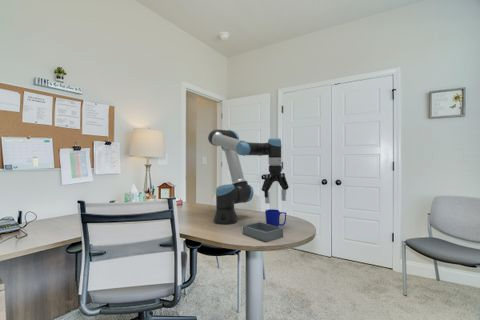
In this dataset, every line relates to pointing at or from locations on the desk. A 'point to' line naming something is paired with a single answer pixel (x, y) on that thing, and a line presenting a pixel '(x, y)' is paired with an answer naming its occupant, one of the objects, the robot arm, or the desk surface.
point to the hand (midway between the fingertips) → (275, 201)
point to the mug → (274, 217)
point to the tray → (263, 231)
